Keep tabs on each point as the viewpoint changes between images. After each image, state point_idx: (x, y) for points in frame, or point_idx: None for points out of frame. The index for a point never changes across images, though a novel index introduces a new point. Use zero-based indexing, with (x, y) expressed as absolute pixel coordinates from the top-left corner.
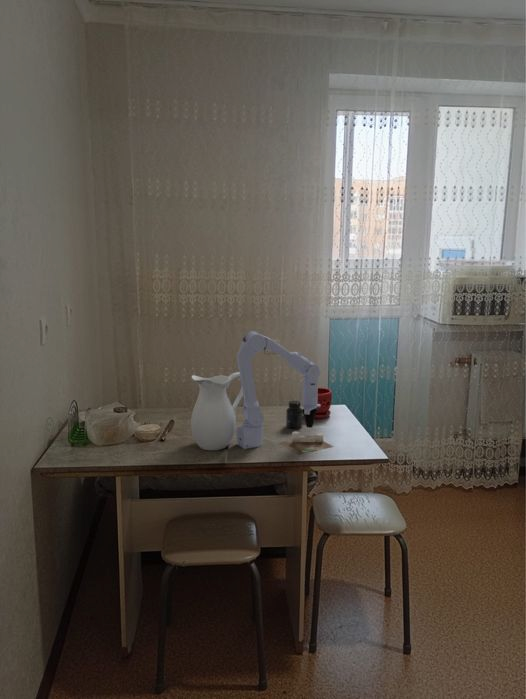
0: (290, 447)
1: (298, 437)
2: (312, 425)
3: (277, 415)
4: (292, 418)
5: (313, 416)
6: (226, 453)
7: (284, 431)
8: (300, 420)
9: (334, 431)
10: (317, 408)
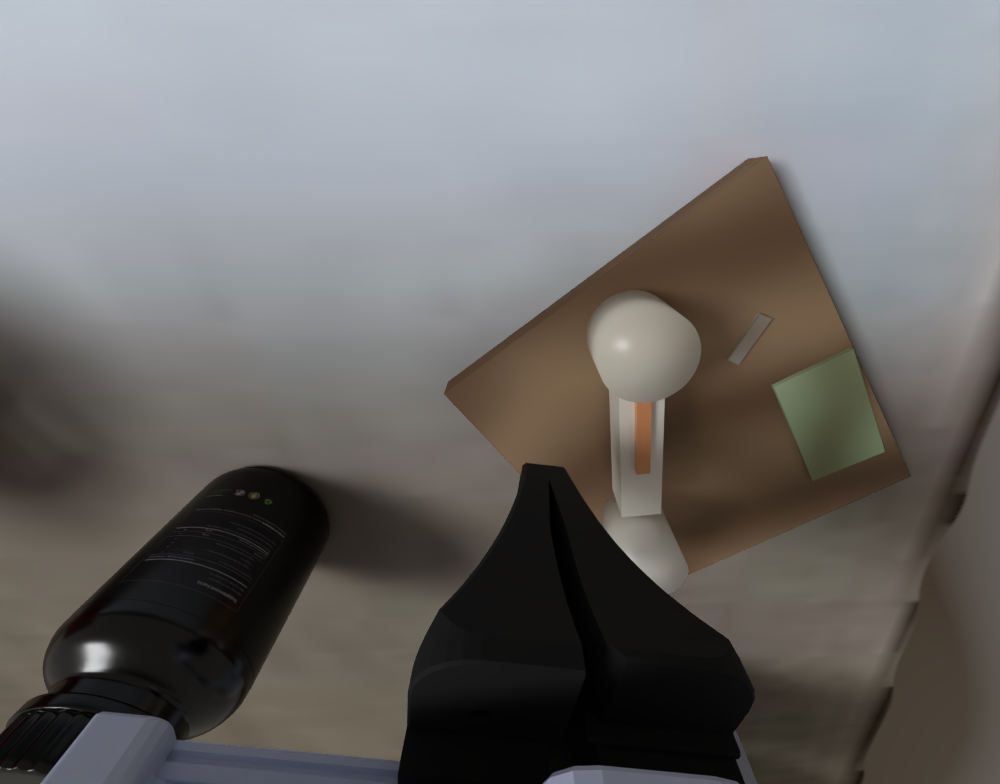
0: (740, 533)
1: (666, 526)
2: (571, 481)
3: (29, 610)
4: (278, 622)
5: (662, 600)
6: None
7: (338, 562)
8: (240, 544)
9: (154, 158)
10: (455, 668)
